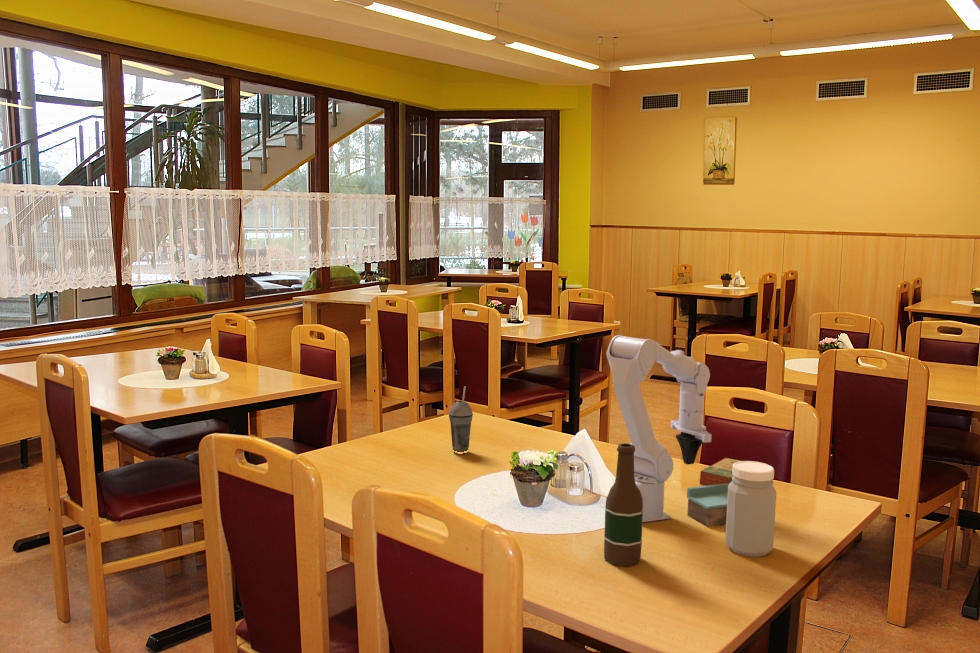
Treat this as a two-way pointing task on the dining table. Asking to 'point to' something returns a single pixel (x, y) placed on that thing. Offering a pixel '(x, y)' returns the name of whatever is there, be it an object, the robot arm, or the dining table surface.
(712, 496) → the lid
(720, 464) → the carton
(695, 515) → the box
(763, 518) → the jar
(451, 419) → the beverage cup
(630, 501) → the beer bottle
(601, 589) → the dining table surface
